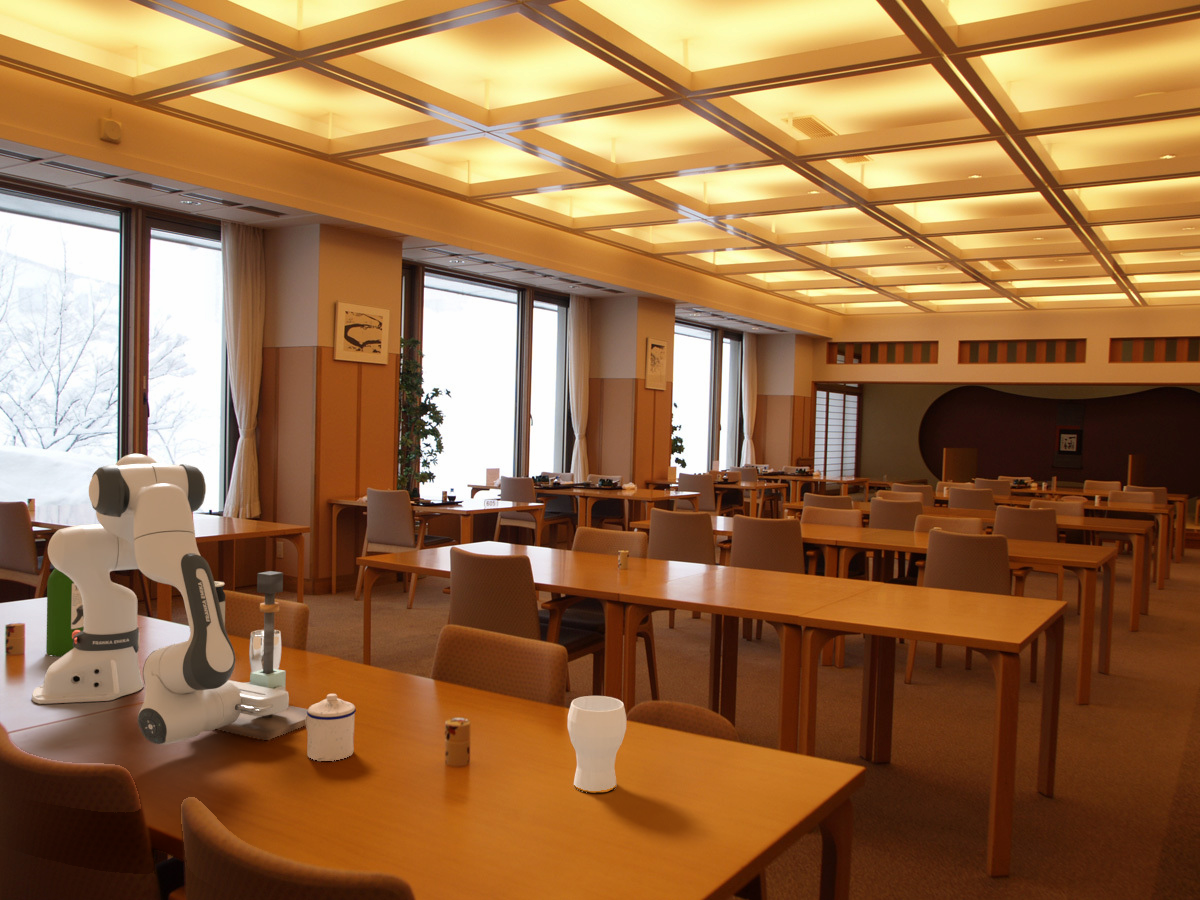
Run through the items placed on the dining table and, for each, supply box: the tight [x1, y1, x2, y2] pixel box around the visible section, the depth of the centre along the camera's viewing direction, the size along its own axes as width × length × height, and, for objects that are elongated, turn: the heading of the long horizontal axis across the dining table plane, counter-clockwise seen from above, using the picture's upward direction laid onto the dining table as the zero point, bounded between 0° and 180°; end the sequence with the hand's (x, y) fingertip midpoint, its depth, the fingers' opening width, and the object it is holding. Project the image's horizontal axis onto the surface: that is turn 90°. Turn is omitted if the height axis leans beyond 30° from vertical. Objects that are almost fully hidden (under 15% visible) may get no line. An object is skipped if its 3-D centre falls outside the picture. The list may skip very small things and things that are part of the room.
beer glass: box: [248, 629, 282, 673], centre depth 213 cm, size 7×7×15 cm
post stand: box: [217, 570, 308, 741], centre depth 194 cm, size 16×16×32 cm
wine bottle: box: [45, 567, 84, 657], centre depth 246 cm, size 9×9×32 cm
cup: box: [567, 695, 627, 791], centre depth 166 cm, size 11×11×15 cm
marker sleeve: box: [249, 669, 287, 689], centre depth 194 cm, size 5×5×8 cm
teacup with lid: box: [305, 693, 357, 762], centre depth 178 cm, size 12×9×12 cm
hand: (270, 687), depth 195 cm, fingers closed on marker sleeve, 5 cm apart
